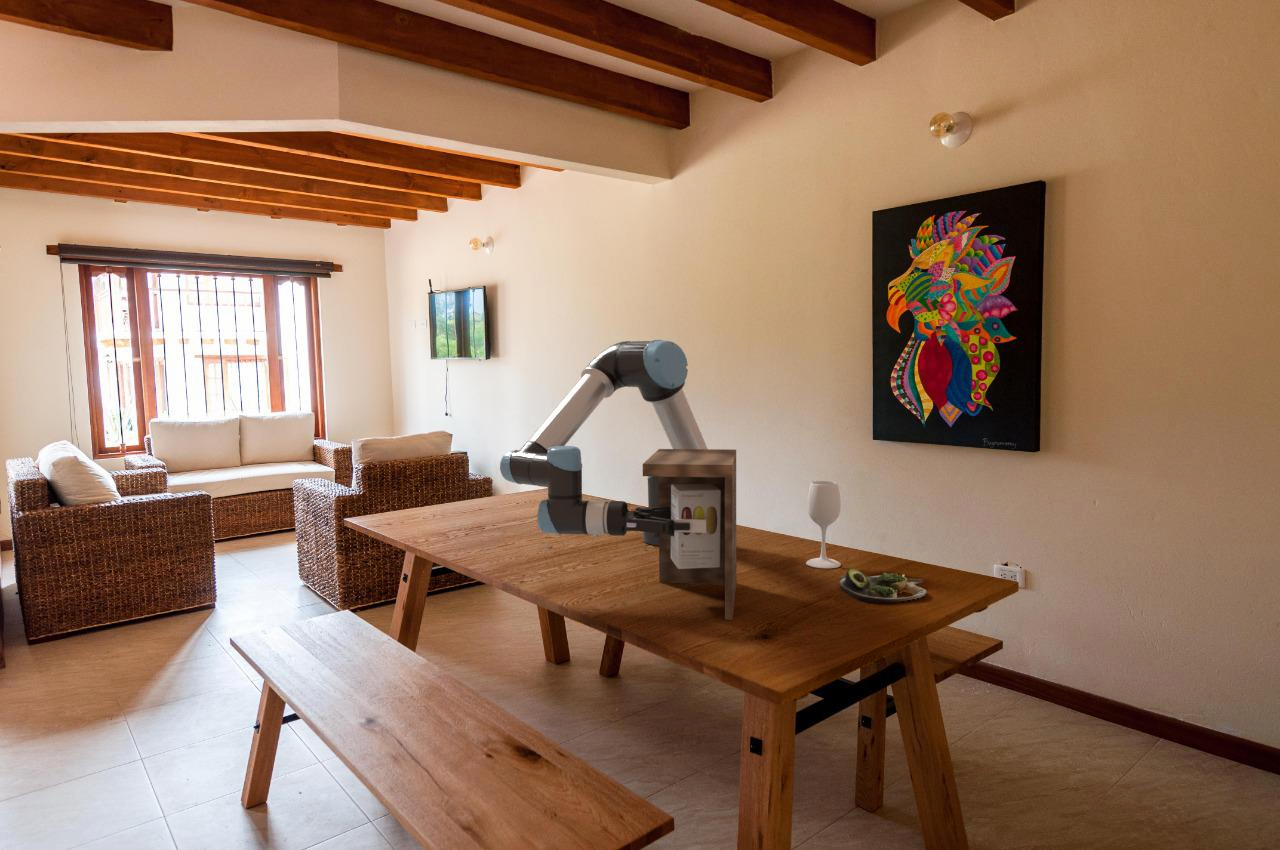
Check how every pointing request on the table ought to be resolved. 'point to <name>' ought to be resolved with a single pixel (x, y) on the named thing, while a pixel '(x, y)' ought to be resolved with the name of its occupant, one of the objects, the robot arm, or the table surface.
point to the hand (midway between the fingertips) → (708, 520)
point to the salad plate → (879, 587)
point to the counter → (721, 474)
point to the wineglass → (823, 516)
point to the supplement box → (696, 505)
